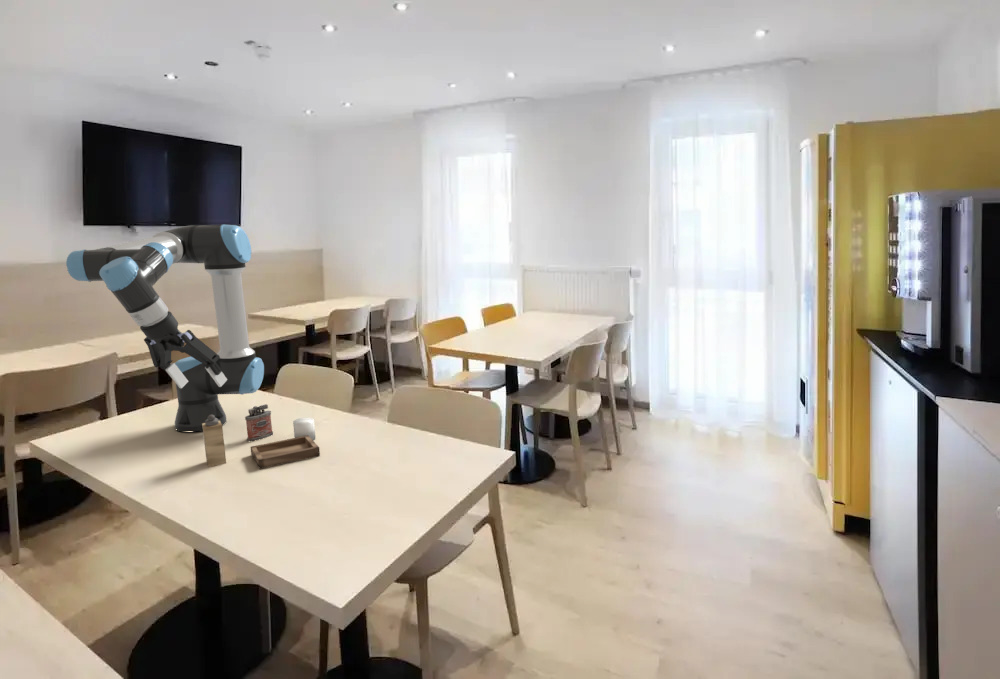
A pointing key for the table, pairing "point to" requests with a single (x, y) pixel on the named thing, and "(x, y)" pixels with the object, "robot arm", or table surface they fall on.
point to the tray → (284, 451)
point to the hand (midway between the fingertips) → (203, 384)
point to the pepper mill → (214, 441)
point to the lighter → (258, 423)
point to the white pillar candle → (304, 427)
